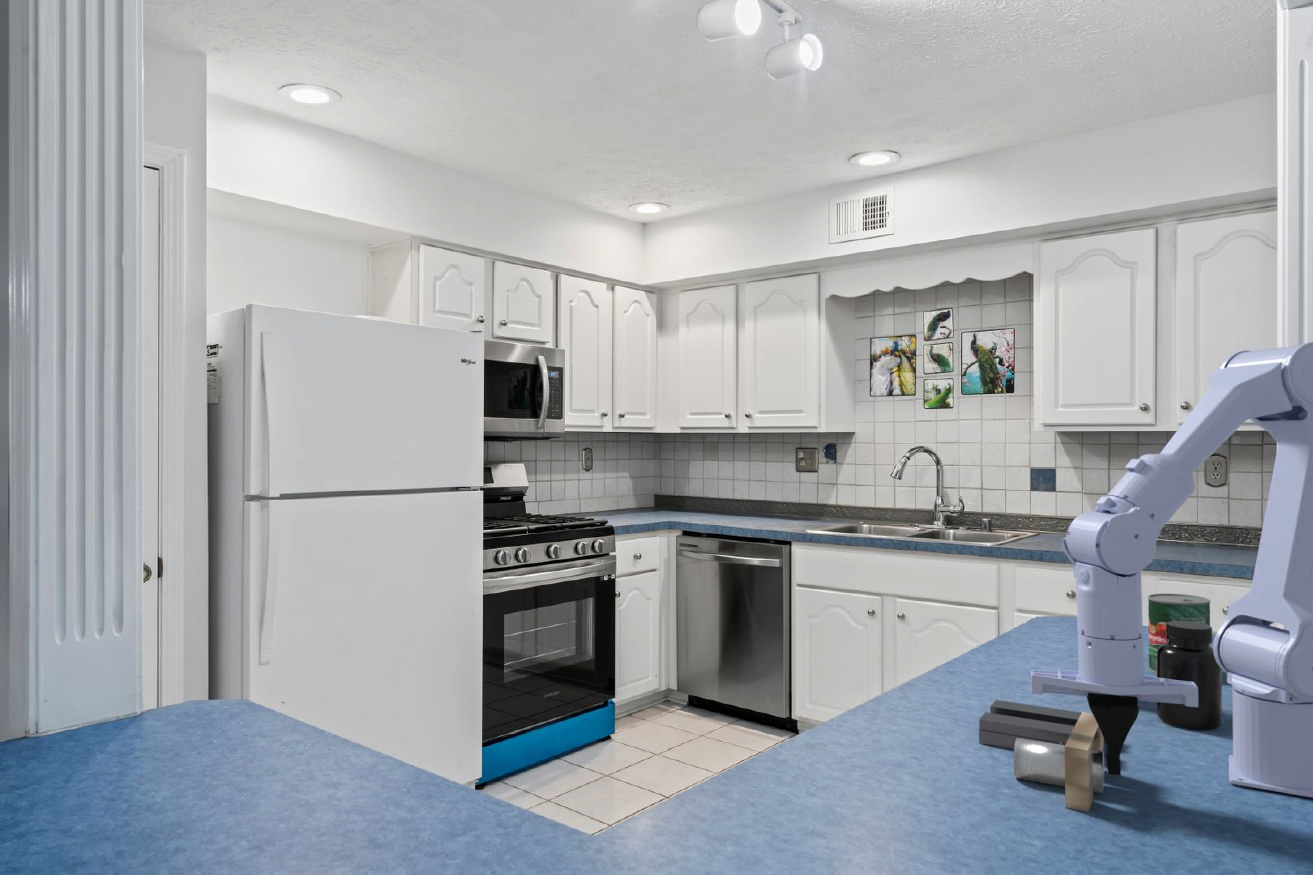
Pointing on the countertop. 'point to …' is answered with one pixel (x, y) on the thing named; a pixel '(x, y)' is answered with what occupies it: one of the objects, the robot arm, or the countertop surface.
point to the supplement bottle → (1191, 675)
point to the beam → (1081, 762)
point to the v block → (1025, 724)
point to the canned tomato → (1172, 617)
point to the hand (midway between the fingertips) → (1113, 771)
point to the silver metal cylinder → (1050, 763)
